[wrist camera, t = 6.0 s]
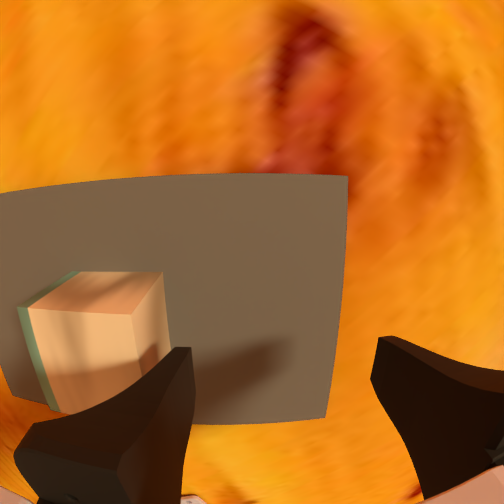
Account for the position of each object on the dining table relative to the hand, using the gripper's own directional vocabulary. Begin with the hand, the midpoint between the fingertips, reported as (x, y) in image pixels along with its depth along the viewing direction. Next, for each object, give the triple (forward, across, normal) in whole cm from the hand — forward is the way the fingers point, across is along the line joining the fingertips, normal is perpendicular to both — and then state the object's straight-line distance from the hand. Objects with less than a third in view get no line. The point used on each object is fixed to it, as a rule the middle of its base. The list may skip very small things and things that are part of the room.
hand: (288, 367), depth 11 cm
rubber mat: (+5, +8, 0) cm, 9 cm away
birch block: (+2, +5, 0) cm, 6 cm away
